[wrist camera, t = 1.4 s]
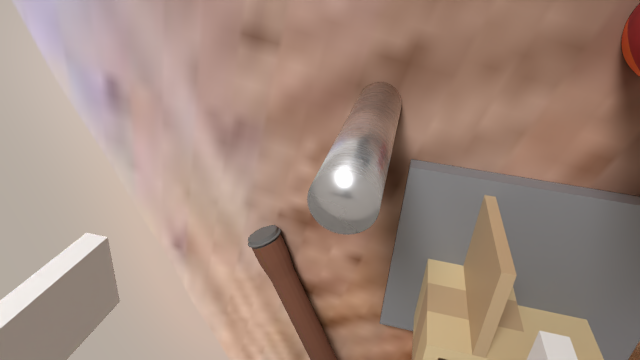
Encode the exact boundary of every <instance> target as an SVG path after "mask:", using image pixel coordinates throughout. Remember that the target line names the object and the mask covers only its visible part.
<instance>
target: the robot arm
mask: <svg viewBox="0 0 640 360" xmlns="http://www.w3.org/2000/svg"><path fill="white" fill-rule="evenodd" d="M118 303H119V296H118V290H117V285H116V280H115V274H114V269H113V264H112V258H111V253H110V248H109V243H108V238H107V237H104V236H99V235H94V234H89V233H86V234H84V235H83V236H82V237H80V238H79V239H78V240H77V241H75V242H74V243H73V244H72V245H70V246H69V247H68V248H66V249H65V250H64V251H63V252H61V253H60V254H59V255H58V256H56V257H55V258H54V259H52V260H51V261H50V262H49V263H47V264H46V265H45V266H44V267H42V268H41V269H40V270H38V271H37V272H36V273H35V274H33V275H32V276H31V277H30V278H28V279H27V280H26V281H25V282H23V283H22V284H21V285H19V286H18V287H17V288H16V289H15V290H13V291H12V292H10V293H9V294H8V295H7V296H5V297H4V298H3V299H2V300H0V360H67V359H68V357H69V356H70V355H71V354H72V353H73V352H74V351H75V350H76V349H77V348H78V347H79V346H80V344H81V343H82V342H83V341H84V340H85V339H86V338H87V337H88V336H89V335H90V333H91V332H92V331H93V330H94V329H95V328H96V327H97V326H98V325H99V324H100V323H101V322H102V320H103V319H104V318H105V317H106V316H107V315H108V314H109V313H110V312H111V311H112V310H113V308H114V307H115V306H116V305H117V304H118ZM527 360H578V359H577V356H576V353H575V351H574V348H573V345H572V342H571V340H570V337H567V336H562V335H558V334H553V333H548V332H544V331H539V332H538V335H537V337H536V339H535V342H534V344H533V346H532V348H531V351H530V353H529V355H528V358H527Z"/></svg>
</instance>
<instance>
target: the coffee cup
mask: <svg viewBox="0 0 640 360" xmlns="http://www.w3.org/2000/svg"><path fill="white" fill-rule="evenodd" d="M621 44H622V52H623V56H624V58H625V60H626V62H627V64H628V65H629V67H630V68H631V69H632V70H633V71H634V72H635V73H636V74H637V75H638V76H639V77H640V3H639V4H638V6H637V7H636V8H635V9H634V11H633V12H632V13H631V15H630V17H629V18H628V20H627V22H626V25H625V27H624V30H623V34H622V42H621Z"/></svg>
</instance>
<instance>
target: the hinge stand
mask: <svg viewBox="0 0 640 360" xmlns="http://www.w3.org/2000/svg"><path fill="white" fill-rule="evenodd" d="M380 324H384V325H388V326H393V327H397V328H402V329H406V330H410V331H413V346H412V360H527V358H528V355H529V353H530V351H531V348H532V346H533V344H534V342H535V339H536V337H537V335H538V332H539V331H544V332H548V333H553V334H558V335H562V336H567V337H570V340H571V342H572V345H573V348H574V351H575V353H576V356H577V359H578V360H628V359H629V357H630V355H631V354H632V352H633V351H634V349H635V347H636V346H637V344H638V342H639V341H640V197H639V196H633V195H627V194H621V193H615V192H609V191H603V190H596V189H590V188H584V187H578V186H572V185H566V184H560V183H554V182H548V181H541V180H535V179H529V178H523V177H517V176H511V175H505V174H499V173H492V172H486V171H480V170H474V169H468V168H462V167H456V166H450V165H443V164H437V163H431V162H425V161H419V160H413V159H411V162H410V167H409V173H408V178H407V183H406V188H405V193H404V198H403V203H402V208H401V214H400V219H399V224H398V229H397V234H396V239H395V244H394V250H393V255H392V260H391V265H390V270H389V275H388V280H387V286H386V291H385V296H384V301H383V306H382V311H381V318H380Z"/></svg>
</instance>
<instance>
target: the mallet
mask: <svg viewBox="0 0 640 360" xmlns="http://www.w3.org/2000/svg"><path fill="white" fill-rule="evenodd" d="M280 232H281V230H280V229H279V228H277V226H275V225H271V226H267V227H263V228H261V229H259V230H257V231H255V232H254V233H253V234H251V235H250V237H249V238H248V241H249V243H248V246H249V247H252V249H253V251H254V253H255V255H256V257H257V259H258V261H259V263H260V265H261V267H262V268H263V269H264V271H265V272H266V274H267V275H268V277H269V278H270V279H271V281H272V283H273V285H274V287H275V289H276V291H277V293H278V295H279V297H280V299H281V301H282V303H283V305H284V307H285V309H286V311H287V313H288V315H289V317H290V319H291V321H292V323H293V325H294V327H295V329H296V331H297V333H298V335H299V337H300V339H301V341H302V343H303V345H304V347H305V349H306V351H307V353H308V355H309V357H310V359H311V360H337V358H336V356H335V354H334V352H333V350H332V348H331V346H330V344H329V342H328V339H327V337H326V335H325V333H324V331H323V329H322V327H321V325H320V323H319V321H318V318H317V316H316V314H315V312H314V310H313V308H312V306H311V304H310V302H309V300H308V297H307V295H306V293H305V291H304V289H303V287H302V285H301V283H300V281H299V279H298V276H297V274H296V272H295V270H294V268H293V265H292V262H291V259H290V255H289V252H288V249H287V247H286V245H285V243H284V241H283V239H282V236H281V234H280Z"/></svg>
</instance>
